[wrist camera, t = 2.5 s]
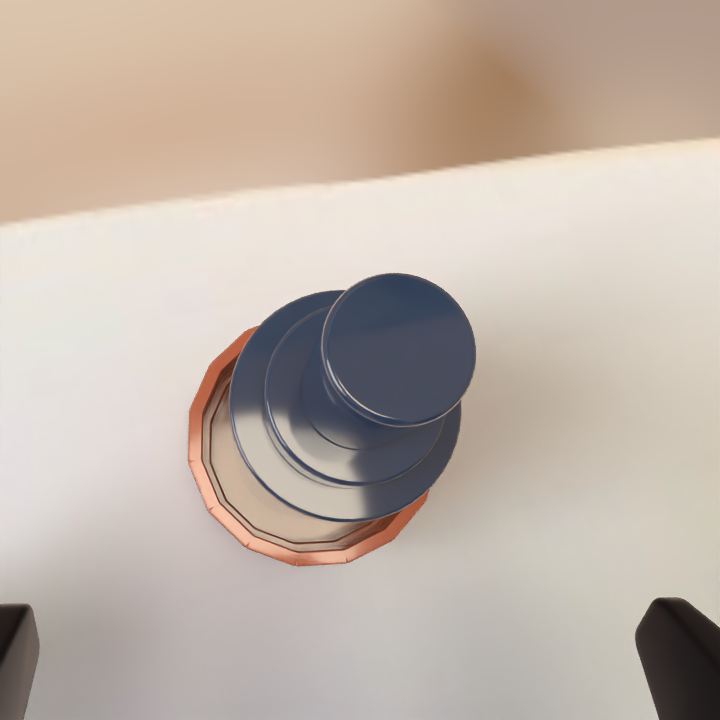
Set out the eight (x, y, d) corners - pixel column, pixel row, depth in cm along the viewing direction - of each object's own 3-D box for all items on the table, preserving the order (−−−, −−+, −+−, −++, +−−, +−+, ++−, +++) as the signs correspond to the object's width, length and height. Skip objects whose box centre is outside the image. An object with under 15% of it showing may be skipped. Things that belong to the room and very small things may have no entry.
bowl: (366, 586, 19) (393, 603, 16) (161, 510, 18) (143, 510, 15) (432, 389, 21) (468, 366, 18) (248, 315, 20) (248, 276, 17)
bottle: (348, 539, 19) (515, 583, 7) (210, 487, 18) (158, 447, 7) (395, 405, 20) (600, 263, 9) (267, 354, 20) (302, 133, 8)
